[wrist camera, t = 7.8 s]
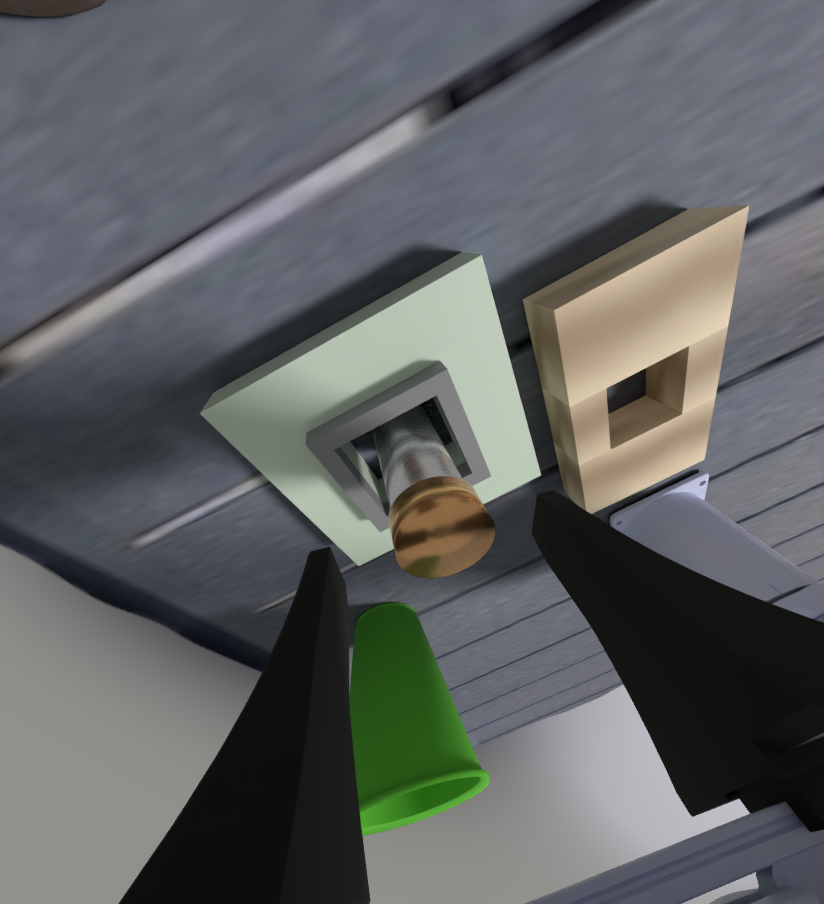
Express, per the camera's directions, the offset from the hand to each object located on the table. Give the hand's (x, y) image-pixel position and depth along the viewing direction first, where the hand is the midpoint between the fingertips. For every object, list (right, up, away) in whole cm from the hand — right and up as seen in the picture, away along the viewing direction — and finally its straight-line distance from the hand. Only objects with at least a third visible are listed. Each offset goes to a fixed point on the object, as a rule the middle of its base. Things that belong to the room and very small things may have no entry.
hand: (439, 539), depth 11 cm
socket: (-2, +4, +6) cm, 8 cm away
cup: (-3, -11, +16) cm, 20 cm away
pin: (-2, +4, +6) cm, 8 cm away
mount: (+11, +7, +8) cm, 15 cm away
